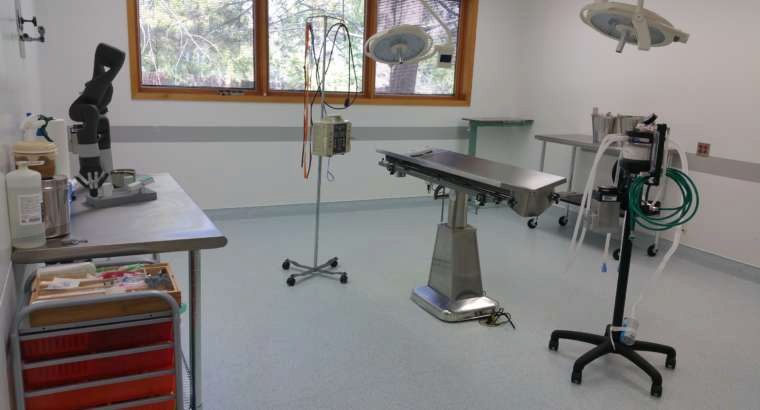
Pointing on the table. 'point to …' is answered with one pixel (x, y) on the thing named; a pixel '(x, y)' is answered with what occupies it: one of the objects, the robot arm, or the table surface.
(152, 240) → the table surface
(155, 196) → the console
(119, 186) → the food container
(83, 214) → the table surface
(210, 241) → the table surface
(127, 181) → the grey slider
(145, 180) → the rocker
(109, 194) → the white slider
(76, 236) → the table surface
